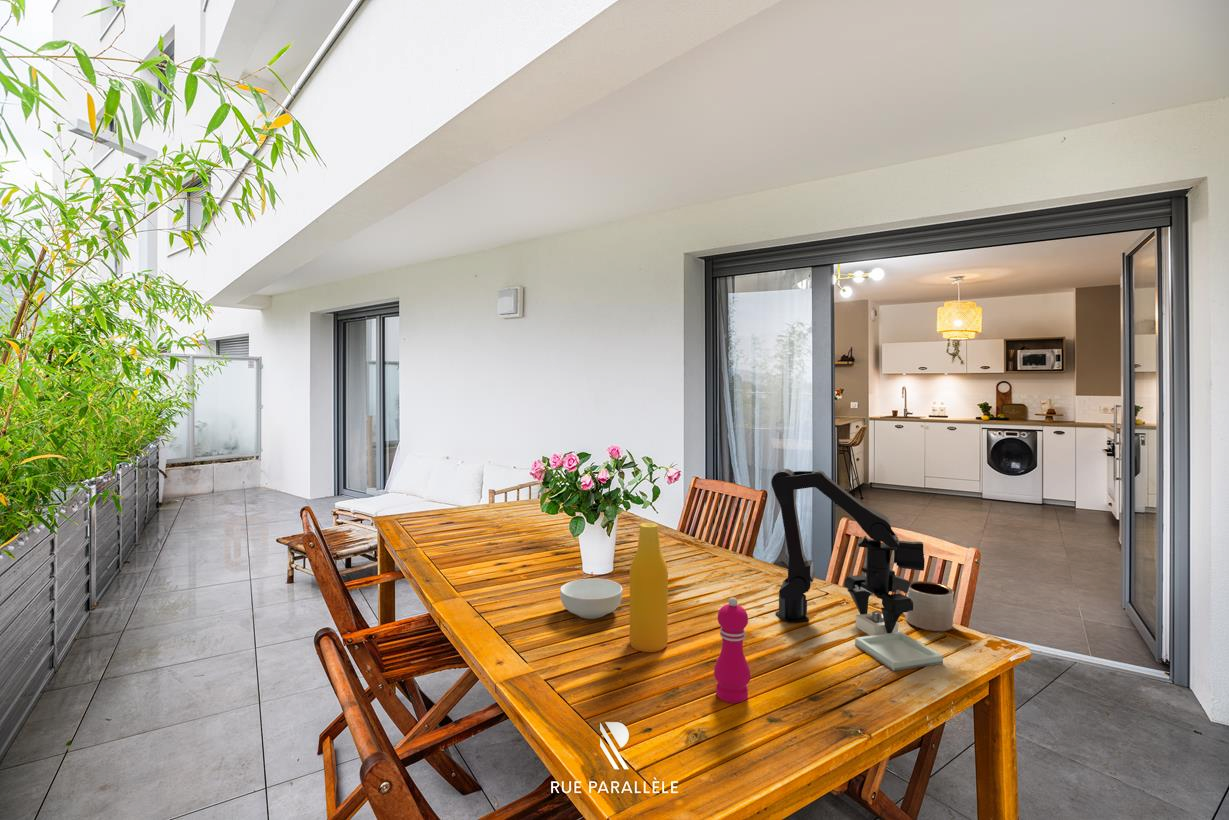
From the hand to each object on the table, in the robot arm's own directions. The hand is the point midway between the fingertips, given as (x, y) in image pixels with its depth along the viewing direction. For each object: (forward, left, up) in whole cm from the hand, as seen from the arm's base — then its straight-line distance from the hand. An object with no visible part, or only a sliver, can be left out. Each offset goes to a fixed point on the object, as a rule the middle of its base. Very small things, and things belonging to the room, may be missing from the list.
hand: (876, 625), depth 149 cm
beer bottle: (-58, +8, -1) cm, 59 cm away
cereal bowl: (-67, +30, -2) cm, 73 cm away
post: (0, 0, -1) cm, 1 cm away
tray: (-4, -12, -1) cm, 13 cm away
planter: (+16, 0, -2) cm, 16 cm away
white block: (0, 0, -1) cm, 1 cm away
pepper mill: (-49, -18, -1) cm, 52 cm away
